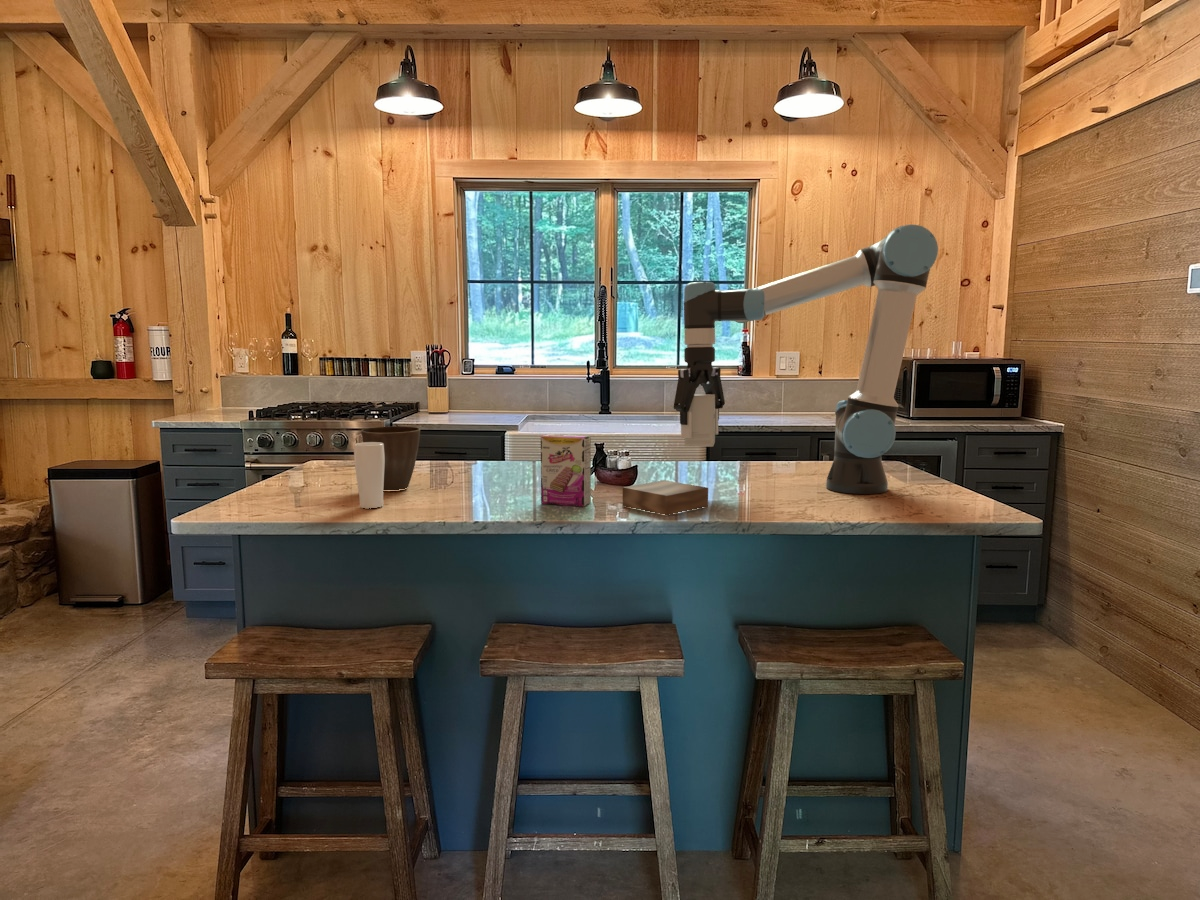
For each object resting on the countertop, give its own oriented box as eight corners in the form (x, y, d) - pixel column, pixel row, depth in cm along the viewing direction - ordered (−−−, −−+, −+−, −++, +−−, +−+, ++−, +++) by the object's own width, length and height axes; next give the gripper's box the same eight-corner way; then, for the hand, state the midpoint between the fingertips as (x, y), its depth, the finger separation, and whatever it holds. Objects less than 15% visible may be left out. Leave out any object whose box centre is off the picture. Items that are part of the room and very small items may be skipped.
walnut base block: (707, 508, 182) (708, 487, 181) (666, 518, 172) (666, 495, 172) (663, 500, 192) (664, 480, 191) (622, 508, 183) (622, 487, 182)
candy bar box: (540, 504, 186) (539, 435, 183) (548, 500, 190) (547, 433, 188) (584, 507, 182) (583, 437, 180) (591, 503, 187) (591, 435, 184)
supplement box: (714, 446, 192) (713, 395, 190) (683, 446, 193) (683, 395, 192) (715, 443, 199) (715, 393, 197) (686, 443, 201) (686, 393, 199)
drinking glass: (359, 511, 179) (356, 446, 177) (354, 506, 184) (351, 443, 183) (389, 508, 182) (386, 444, 180) (383, 503, 188) (380, 441, 186)
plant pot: (434, 487, 208) (432, 428, 206) (391, 497, 195) (389, 433, 193) (394, 482, 216) (392, 425, 214) (351, 491, 203) (348, 430, 201)
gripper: (715, 345, 203) (716, 431, 206) (657, 347, 188) (658, 439, 191) (739, 345, 198) (739, 432, 201) (681, 346, 183) (682, 441, 186)
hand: (700, 436), depth 196 cm, fingers closed on supplement box, 10 cm apart
